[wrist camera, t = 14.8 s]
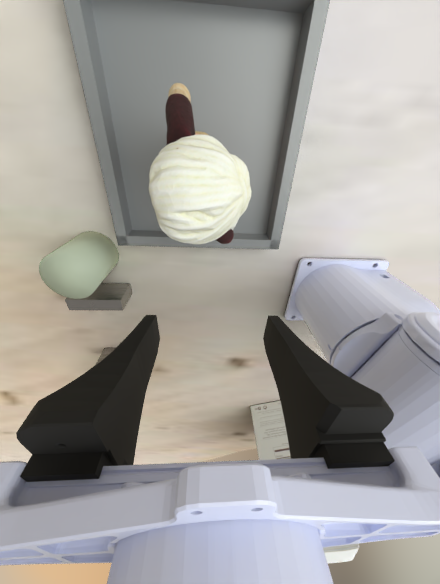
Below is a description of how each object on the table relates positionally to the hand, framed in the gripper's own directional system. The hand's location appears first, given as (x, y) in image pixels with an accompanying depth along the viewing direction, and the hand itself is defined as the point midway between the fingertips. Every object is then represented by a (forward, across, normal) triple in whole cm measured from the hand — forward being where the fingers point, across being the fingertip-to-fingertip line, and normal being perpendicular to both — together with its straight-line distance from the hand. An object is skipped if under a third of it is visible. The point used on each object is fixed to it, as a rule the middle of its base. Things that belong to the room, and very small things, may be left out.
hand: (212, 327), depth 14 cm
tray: (+9, +1, -10) cm, 14 cm away
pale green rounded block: (+10, +11, -1) cm, 15 cm away
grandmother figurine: (+9, +1, -8) cm, 12 cm away
